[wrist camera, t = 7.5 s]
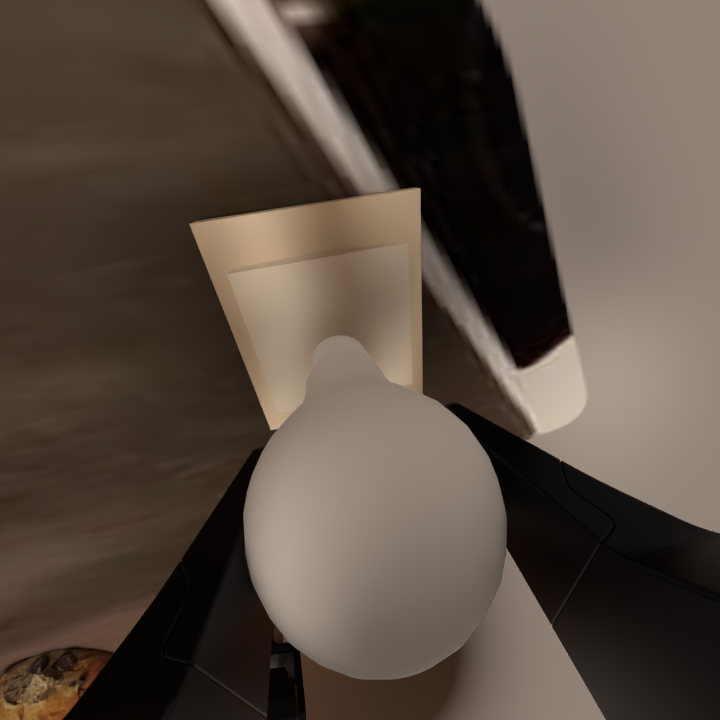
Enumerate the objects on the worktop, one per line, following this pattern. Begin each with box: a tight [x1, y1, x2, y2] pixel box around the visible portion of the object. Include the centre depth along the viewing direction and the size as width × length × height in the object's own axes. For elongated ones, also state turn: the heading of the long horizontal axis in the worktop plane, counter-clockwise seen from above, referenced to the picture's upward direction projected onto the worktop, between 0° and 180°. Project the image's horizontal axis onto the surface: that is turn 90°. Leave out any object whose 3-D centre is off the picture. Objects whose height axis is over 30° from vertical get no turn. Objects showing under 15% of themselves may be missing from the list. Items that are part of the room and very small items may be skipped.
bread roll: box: [0, 649, 112, 720], centre depth 29 cm, size 10×10×8 cm
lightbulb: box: [243, 335, 507, 679], centre depth 10 cm, size 6×6×11 cm
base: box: [190, 188, 423, 430], centre depth 16 cm, size 10×12×2 cm
